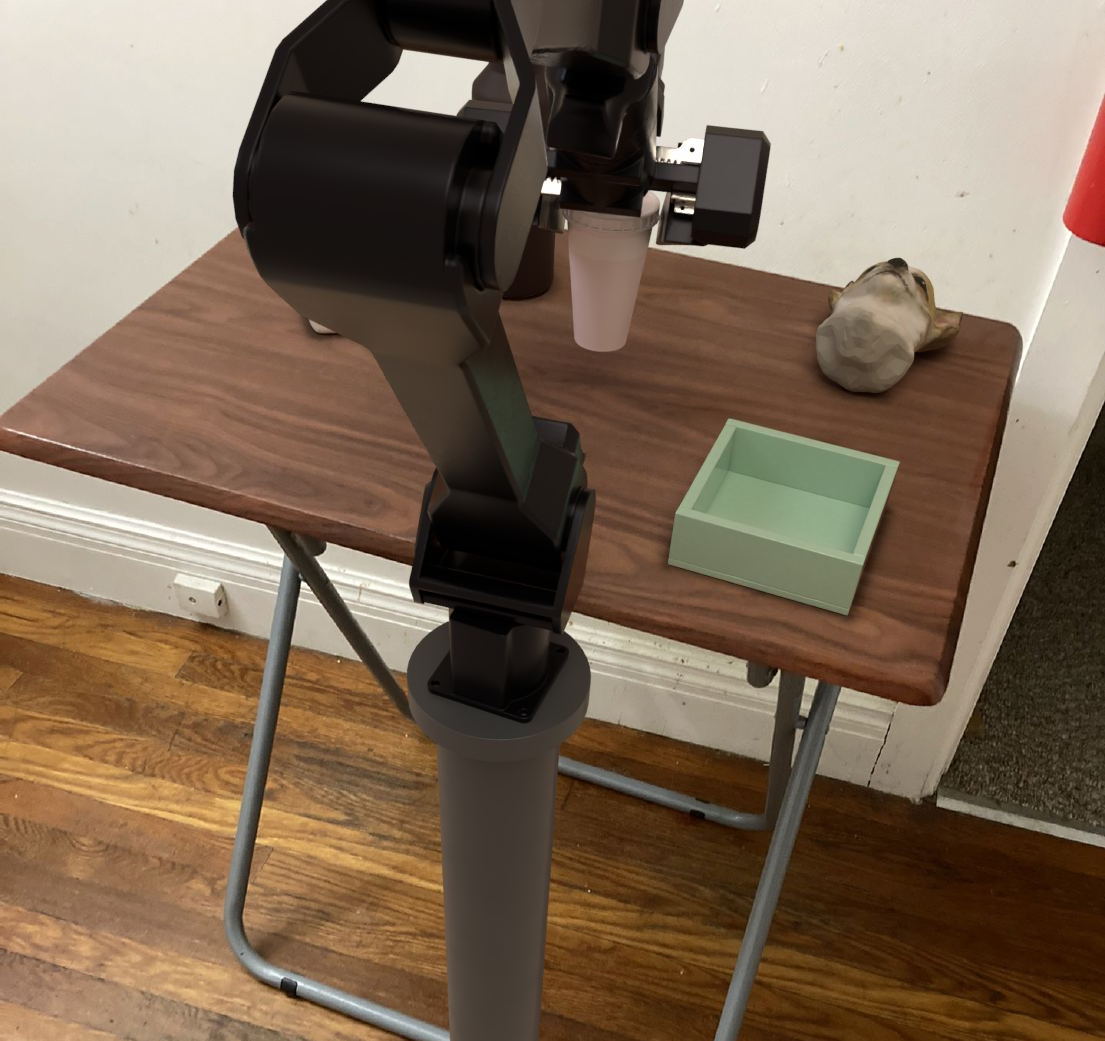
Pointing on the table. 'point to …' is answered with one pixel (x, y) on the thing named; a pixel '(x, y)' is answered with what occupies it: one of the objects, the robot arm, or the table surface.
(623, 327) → the smoothie
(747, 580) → the open box
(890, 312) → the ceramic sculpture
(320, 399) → the table surface
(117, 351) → the table surface
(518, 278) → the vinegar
